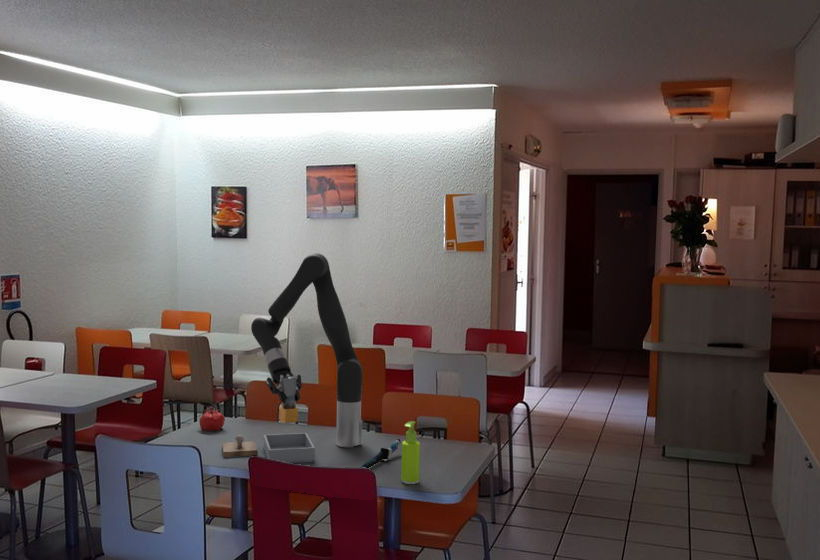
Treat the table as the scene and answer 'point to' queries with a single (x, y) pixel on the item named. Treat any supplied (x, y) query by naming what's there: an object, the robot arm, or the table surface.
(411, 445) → the soap dispenser
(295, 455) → the bin
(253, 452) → the stud block
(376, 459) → the knife
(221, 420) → the red tomato
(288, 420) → the strut
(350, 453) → the table surface
